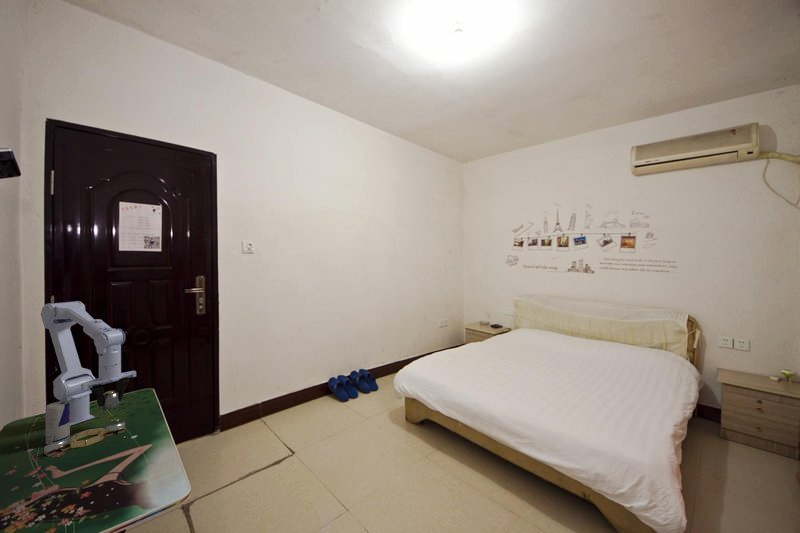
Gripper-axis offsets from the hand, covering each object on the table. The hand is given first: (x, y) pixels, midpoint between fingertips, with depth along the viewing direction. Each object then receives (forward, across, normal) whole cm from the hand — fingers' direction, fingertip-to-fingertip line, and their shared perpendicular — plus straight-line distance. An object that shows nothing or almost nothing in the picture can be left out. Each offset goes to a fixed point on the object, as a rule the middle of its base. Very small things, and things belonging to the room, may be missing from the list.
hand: (110, 402), depth 110 cm
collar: (+8, -7, -4) cm, 12 cm away
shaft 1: (+8, -14, -4) cm, 17 cm away
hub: (+2, 0, 0) cm, 2 cm away
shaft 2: (+8, -1, -6) cm, 11 cm away
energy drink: (+9, -12, +4) cm, 15 cm away
